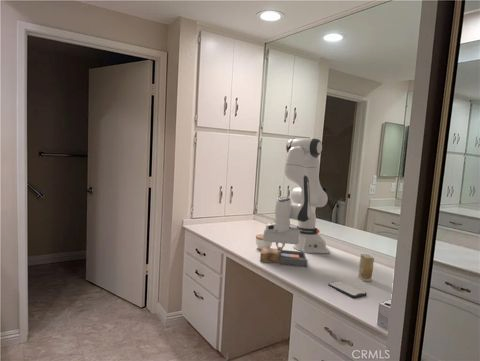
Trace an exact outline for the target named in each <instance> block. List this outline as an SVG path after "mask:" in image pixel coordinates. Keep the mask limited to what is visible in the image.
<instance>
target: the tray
mask: <svg viewBox="0 0 480 361" xmlns="http://www.w3.org/2000/svg"><path fill="white" fill-rule="evenodd" d="M281 253H284V254H294V255H299V259H288V258H280V263H279V264H280V265H282V266H291V267H292V266H293V267H301V268H303V267H304V268H307V265H308V264H307V263H308V260H307V257H306V252H303V251H299V250H297V251H295V250H288V249H287V250H285V249H282V251H281Z"/></svg>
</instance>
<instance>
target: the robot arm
mask: <svg viewBox="0 0 480 361" xmlns="http://www.w3.org/2000/svg"><path fill="white" fill-rule="evenodd" d="M285 148H286V152H287V155H286V158H285V165H284V175H285V177H286V178H287V179H288V180H289V181H291V182H293V183H295V184H297V185H298V187H297V186H296V187H294V188H293V189H292V190H291V194H290V197H286V196H282V197H281V196H279V197H278V198H277V199H276V202H275V207H274V219H273V220H274V221H273V222H268V223H266V225H265V229H264V230H263V233H262V234H263V241H264V242H272V243H275V246H276V249H277V250H279V251H282V250H284V249H283V248H284V247H285V246H286V244H287V245H293V249H295V250H297V251H299V252H305V254H306V253H307V254H308V253H310V254H329V253H330V248H329V247H327V243H326V241H325V239H324V238H323V237H322V236H321V235H320V234H319V233H321V232H320V229H318V227H316V224H317V223H316V222H317V221H316V220H317V216H316V213H315V212H314V211H313V210H312V207H313V208H323V207H325V206H326V205H327V204H328V201H329V198H328V194H327V193H326V192H325V190H323V187H322V185H321V182H320V177H319V173H320V172H319V168H320V167H319V166H320V165H319V164H320V162H319V155H321V153H322V151H323V142H322V141H321V140H320V139H319V138H310V137H308V138H307V137H303V138H302V137H300V138H291V139H289V140H288V141H287V142H286V147H285ZM291 200H292V201H291ZM291 220H294V221H297V225H296V227H294V226H293V227H292V226H291ZM279 244H281V245H282V246H279Z"/></svg>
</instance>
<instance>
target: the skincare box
mask: <svg viewBox="0 0 480 361" xmlns="http://www.w3.org/2000/svg"><path fill="white" fill-rule="evenodd" d="M374 262H375V257H373V256H371V255H370V254H368V253H367V254H366V253H361V254H360V259H359V268H358V276H357V277H358V278H359V279H360V280H361V281H362V282H365V283H366V282H369V283H372V279H373V278H372V277H373V268H374V264H375V263H374Z"/></svg>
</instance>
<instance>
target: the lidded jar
mask: <svg viewBox="0 0 480 361" xmlns="http://www.w3.org/2000/svg"><path fill="white" fill-rule="evenodd" d="M263 234H264V233H262V234H256V235H255V245H256V247H257V248H258V249H259V250H261V248H262V247H264V248H272V245H273V242H264V241H263Z"/></svg>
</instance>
